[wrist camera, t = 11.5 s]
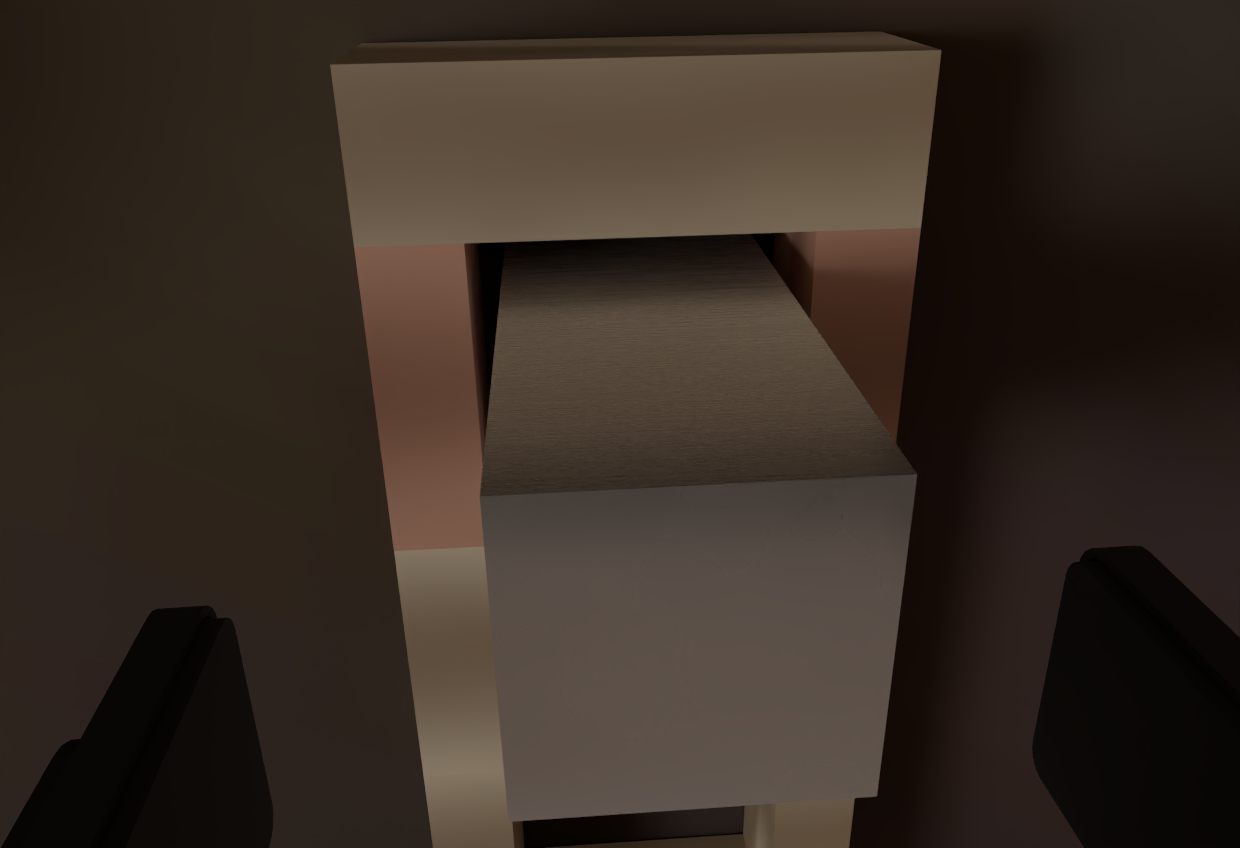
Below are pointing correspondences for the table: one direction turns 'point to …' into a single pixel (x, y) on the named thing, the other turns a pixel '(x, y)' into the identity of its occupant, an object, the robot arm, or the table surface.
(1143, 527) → the table surface
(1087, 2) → the table surface
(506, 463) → the peg
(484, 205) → the block with square holes
